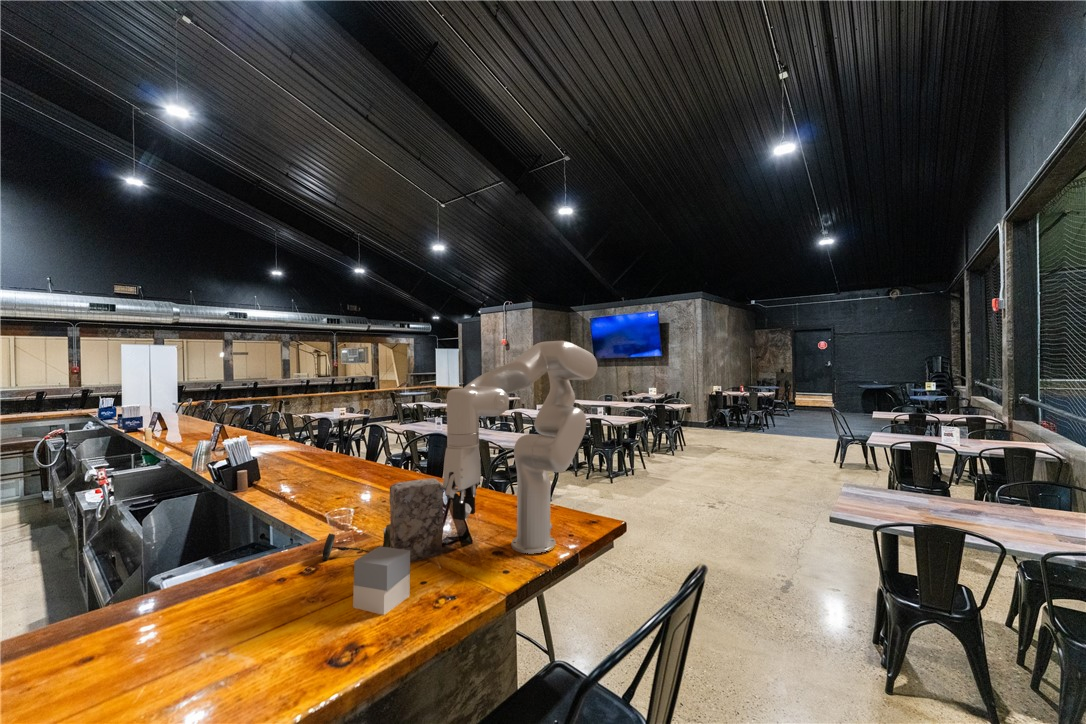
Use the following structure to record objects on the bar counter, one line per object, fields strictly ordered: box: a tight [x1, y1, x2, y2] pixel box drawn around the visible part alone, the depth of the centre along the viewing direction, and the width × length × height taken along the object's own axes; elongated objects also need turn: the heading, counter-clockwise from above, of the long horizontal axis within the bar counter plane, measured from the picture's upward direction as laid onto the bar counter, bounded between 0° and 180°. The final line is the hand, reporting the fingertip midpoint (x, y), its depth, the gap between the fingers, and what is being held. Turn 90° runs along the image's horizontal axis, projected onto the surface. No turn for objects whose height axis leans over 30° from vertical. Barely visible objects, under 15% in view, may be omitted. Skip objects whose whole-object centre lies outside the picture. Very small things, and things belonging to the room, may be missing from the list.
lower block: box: [352, 573, 411, 616], centre depth 91 cm, size 8×8×5 cm
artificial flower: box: [321, 524, 391, 561], centre depth 116 cm, size 9×22×10 cm, turn 107°
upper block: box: [353, 546, 411, 591], centre depth 91 cm, size 8×8×5 cm
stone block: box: [388, 478, 444, 564], centre depth 113 cm, size 13×7×20 cm, turn 128°
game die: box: [465, 503, 471, 519], centre depth 102 cm, size 4×4×3 cm
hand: (464, 515), depth 102 cm, fingers closed on game die, 3 cm apart
